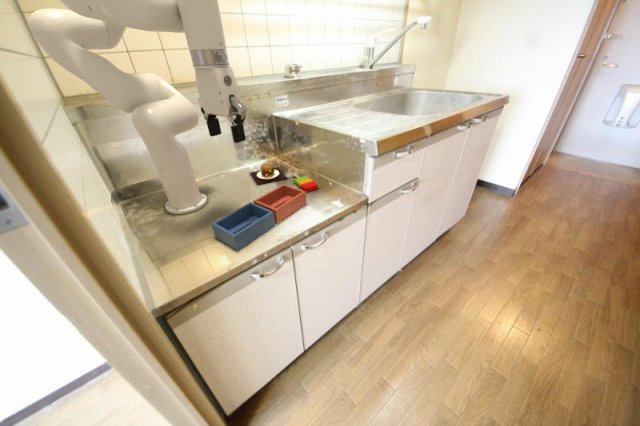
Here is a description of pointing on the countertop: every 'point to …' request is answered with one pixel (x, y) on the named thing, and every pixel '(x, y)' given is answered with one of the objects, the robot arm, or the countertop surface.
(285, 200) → the terracotta spoon
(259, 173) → the hamburger
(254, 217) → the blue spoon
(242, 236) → the blue bin
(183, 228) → the countertop surface
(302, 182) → the popsicle
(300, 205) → the terracotta bin
